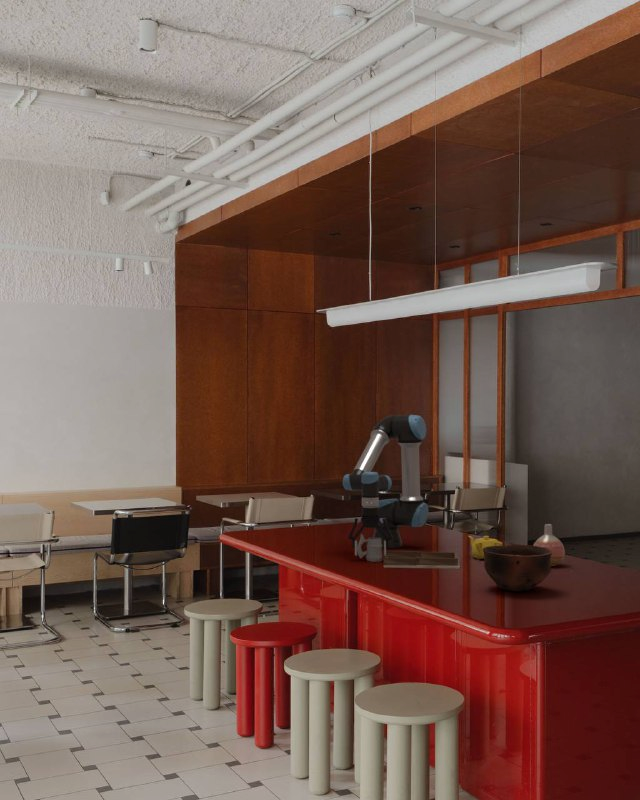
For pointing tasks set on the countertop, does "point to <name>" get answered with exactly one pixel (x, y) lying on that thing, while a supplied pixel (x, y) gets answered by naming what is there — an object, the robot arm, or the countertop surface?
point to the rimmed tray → (421, 559)
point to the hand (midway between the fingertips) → (370, 555)
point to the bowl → (517, 566)
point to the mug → (371, 548)
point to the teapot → (482, 545)
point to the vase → (551, 545)
